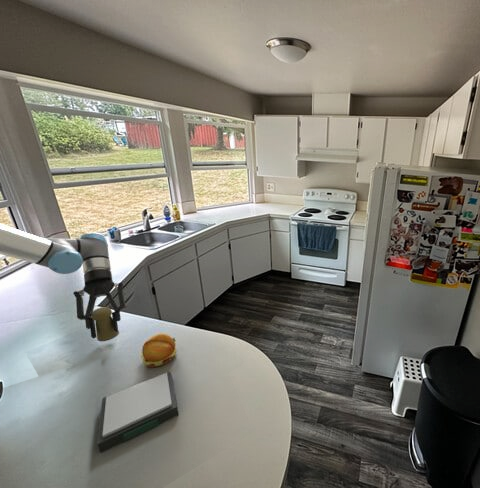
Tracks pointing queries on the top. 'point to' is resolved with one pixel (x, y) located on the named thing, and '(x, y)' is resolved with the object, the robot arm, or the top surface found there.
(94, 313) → the cork
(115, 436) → the kitchen scale
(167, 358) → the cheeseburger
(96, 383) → the top surface
